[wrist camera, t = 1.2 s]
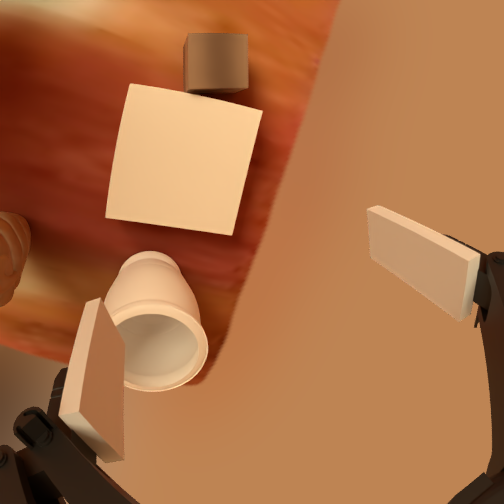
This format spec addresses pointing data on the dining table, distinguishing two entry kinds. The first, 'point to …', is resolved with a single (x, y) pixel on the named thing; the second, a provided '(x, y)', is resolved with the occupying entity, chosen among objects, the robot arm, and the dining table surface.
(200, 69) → the walnut cube
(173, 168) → the cream block
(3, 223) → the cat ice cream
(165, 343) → the jar
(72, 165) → the dining table surface
